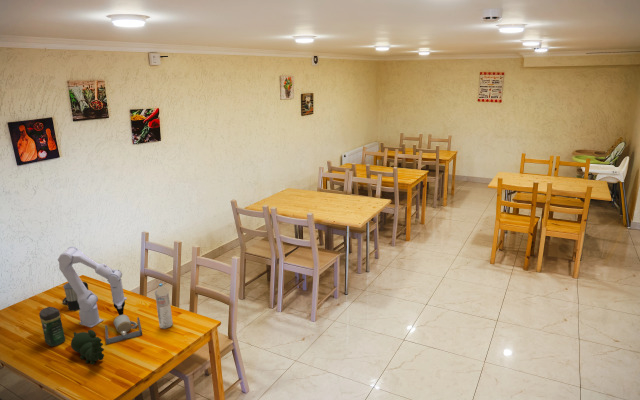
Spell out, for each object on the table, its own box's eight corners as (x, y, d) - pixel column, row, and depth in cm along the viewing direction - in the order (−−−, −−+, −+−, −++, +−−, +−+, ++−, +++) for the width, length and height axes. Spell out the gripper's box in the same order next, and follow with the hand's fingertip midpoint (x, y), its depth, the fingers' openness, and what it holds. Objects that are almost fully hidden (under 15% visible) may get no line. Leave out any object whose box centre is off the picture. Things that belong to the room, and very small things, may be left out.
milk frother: (79, 311, 251) (75, 288, 247) (53, 311, 252) (48, 288, 248) (92, 299, 265) (88, 276, 261) (67, 299, 266) (63, 277, 261)
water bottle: (175, 323, 237) (170, 282, 230) (166, 330, 231) (160, 288, 224) (166, 321, 240) (160, 280, 233) (156, 327, 234) (150, 285, 227)
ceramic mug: (118, 336, 226) (116, 323, 224) (114, 329, 233) (112, 316, 231) (139, 329, 233) (137, 316, 231) (135, 323, 239) (133, 310, 237)
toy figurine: (111, 364, 208) (85, 341, 222) (107, 330, 201) (80, 310, 215) (91, 374, 201) (66, 351, 214) (86, 340, 194) (60, 318, 208)
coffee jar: (68, 341, 223) (61, 309, 218) (51, 348, 217) (44, 316, 212) (59, 334, 229) (52, 303, 224) (43, 342, 223) (35, 310, 218)
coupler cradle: (105, 329, 233) (104, 322, 232) (139, 321, 240) (138, 314, 239) (106, 345, 219) (105, 337, 218) (142, 335, 227) (141, 328, 226)
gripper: (126, 296, 232) (129, 318, 236) (124, 285, 244) (127, 306, 248) (111, 299, 229) (115, 322, 233) (110, 287, 241) (114, 309, 245)
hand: (121, 314), depth 240 cm, fingers closed
